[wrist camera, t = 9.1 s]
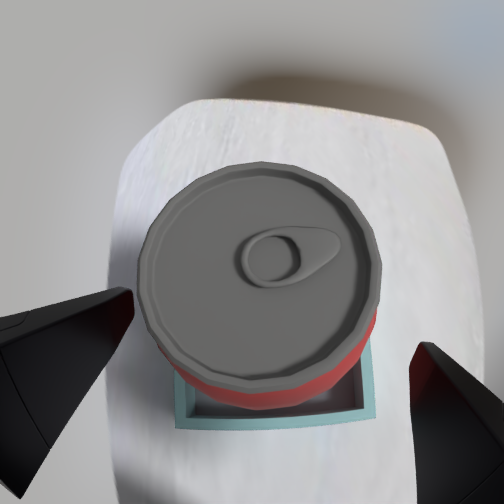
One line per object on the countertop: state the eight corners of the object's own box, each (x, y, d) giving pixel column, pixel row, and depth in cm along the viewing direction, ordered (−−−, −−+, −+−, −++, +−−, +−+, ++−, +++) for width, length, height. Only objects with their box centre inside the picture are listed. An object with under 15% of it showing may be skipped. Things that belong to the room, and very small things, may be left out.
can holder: (363, 414, 16) (376, 418, 14) (188, 423, 17) (175, 428, 14) (346, 253, 20) (354, 235, 18) (189, 263, 21) (178, 247, 18)
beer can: (343, 377, 17) (445, 354, 6) (229, 409, 16) (143, 444, 5) (308, 272, 19) (337, 124, 8) (202, 302, 19) (109, 185, 8)
